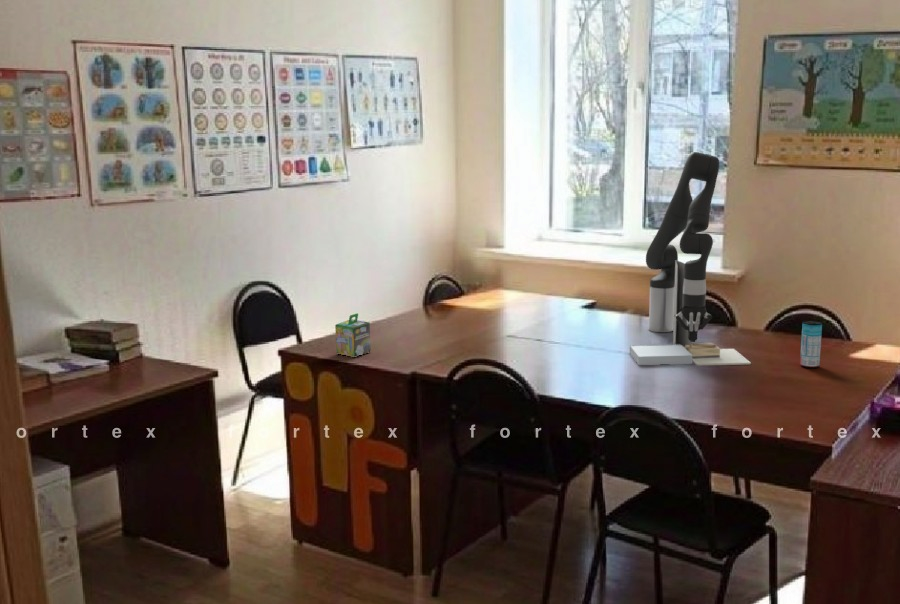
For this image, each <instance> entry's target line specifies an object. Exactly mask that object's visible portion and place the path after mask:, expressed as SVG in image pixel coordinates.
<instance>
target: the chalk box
mask: <svg viewBox="0 0 900 604" xmlns="http://www.w3.org/2000/svg"><path fill="white" fill-rule="evenodd" d="M358 317H359V313H354V314H350V316H349V319H347V320H345V321H342V322H340V323H339V322H338V323H336V324H335V325H334V326H335V341H336V343H335V344H336V354H337V353H341V354H346V355H350V356H358V355H362V354H365V353H368V352H370V351H371V328H370V327H371V325H370V323H371V322H370V321H364V320H358ZM353 318H354V319H353ZM368 354H369V353H368ZM365 355H366V354H365ZM362 356H363V355H362Z"/></svg>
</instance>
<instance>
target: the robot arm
mask: <svg viewBox="0 0 900 604" xmlns="http://www.w3.org/2000/svg"><path fill="white" fill-rule="evenodd" d="M719 170H720V159H719V158H718V157H717V156H715V155H711V154H707V153H703V152H699V151H692V152H691V153H690V154H689V155H688V156H687V158H686V160H685V163H684V166H683V169H682V172H681V175H680V178H679V181H678V184H677V187H676V189H675V191H674V194H673V196H672V197H671V200H670V202H669V204H668V206H667V209H666V211H665V213H664V217H663V219H662V222H661V223H660V227H658V231H657V232H656V234H655V236H654V237H653V240H652V241H651V243H650V245H649V247H648V249H647V251H646V254H645V264H646V266H647V267H648V268H649V269H650V270H656V271H657V270H660V272H659V273H658V274H657V275H655V276H653V277H651V278H650V281H649V307H648V308H649V309H648V311H649V312H648V317H649V318H648V331H651V332H655V333H670V332H672V331H673V322H674V317H675V318H676V319H677V321H678V322H679V323H680V324H681V326H682V327H683V328H684V329H685V330H688V339H689V340H690V342H691V343H694V342H695V343H696V341H697V340H698V332H699V331H700V330H703V329H704V328H705V327H706V326H707V325H708V323H710V321H711V320H712V318H713V315H712V314H710V313H708V312H707V309H706V308H707V307H706V301H707V300H706V297H707V296H706V295H707V282H706V281H707V280H706V279H707V276H706V274H707V264H708V259H709V257H710V255H711V254H710V253H711V251H712V248H713V244H714V241H713V237H712V236H711V234H710V233H707V232H705V233H704V231H706V230H707V229H708V227H709V226H710V213H711V206H712V200H713V197H714V193H715V190H716V189H715V187H716V184H717V180H718V176H719ZM692 180H696V181H702V182H705V185H704V186H703V189H702V190H701V191H700V192H699V193H698V194H697V195H696V196H695V197H694V199H693V195H692V193H691V189H690V182H691V181H692ZM681 233H682V234H681ZM680 234H681V237H680V239H679V240H680V241H679V249H680V251H681V252H682V253H684V254H688V255H700V257H699V258H697V259H693V260H691V261H690V260H687V261H686V262H684V263H685V267H684V282H683V300H682V308H681V312H680V313H678V314H675V315H674V289H675V260H677V261H679V254H678V251H677V248H676V247H675V246H674V245H673V244H671V243H672V241H673V240H674V239H676V238H677V237H678V236H679V235H680ZM682 315H683V316H684V317H685V319H686V320H687V325H688V326H687V325H686V324H685V323H684V322H683V321H682V318H683V317H682Z"/></svg>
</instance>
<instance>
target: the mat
mask: <svg viewBox="0 0 900 604" xmlns="http://www.w3.org/2000/svg"><path fill="white" fill-rule="evenodd" d="M692 363H693V364H695V366H701V367H702V366H731V365H734V366H735V365H736V366H737V365H738V366H740V365H751V364H752V363H751V361H749V359H748V358H746V357H744V356H743V354H741V353H739V351H737V350H736V349H735V348H720V357H716V358H696V359H692Z"/></svg>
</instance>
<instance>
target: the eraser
mask: <svg viewBox="0 0 900 604" xmlns="http://www.w3.org/2000/svg"><path fill="white" fill-rule="evenodd" d="M684 348H685V349H686V350H687V351H688V352H690V353H691V354H692V359H696V358H716V357H720V349H721V348H720V347H719V346H717V345H716V344H715V343H713V342H703V343H701V342H700V343H691V344H690V345H685V347H684Z"/></svg>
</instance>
